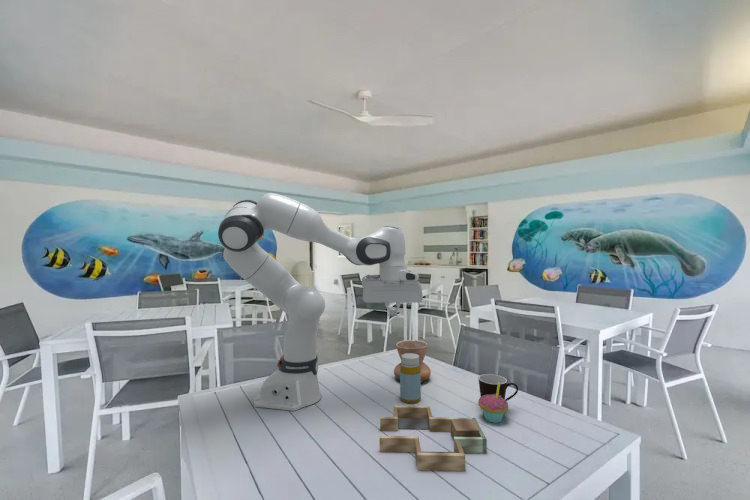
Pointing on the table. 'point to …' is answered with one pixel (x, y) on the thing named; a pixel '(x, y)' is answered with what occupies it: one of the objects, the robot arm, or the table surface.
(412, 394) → the bottle
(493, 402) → the cupcake
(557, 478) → the table surface
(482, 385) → the coffee mug
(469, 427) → the block
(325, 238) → the robot arm
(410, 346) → the ceramic jug
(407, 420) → the box
